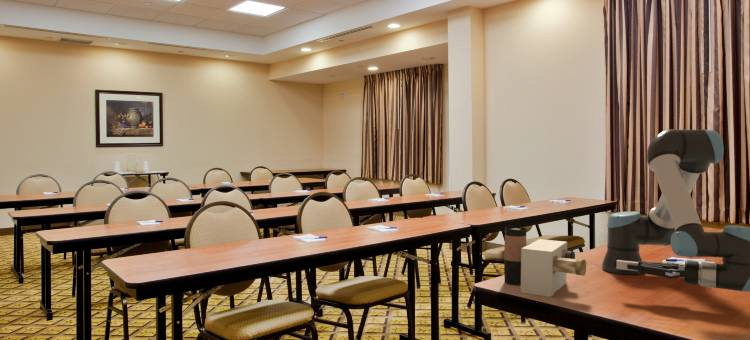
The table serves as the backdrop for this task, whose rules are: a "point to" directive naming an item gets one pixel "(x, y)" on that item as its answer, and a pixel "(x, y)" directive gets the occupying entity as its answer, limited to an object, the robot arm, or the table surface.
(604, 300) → the table surface
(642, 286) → the table surface
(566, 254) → the tan cylindrical part
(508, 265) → the travel mug
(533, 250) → the housing
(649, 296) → the table surface
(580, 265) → the brass plunger
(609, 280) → the table surface
